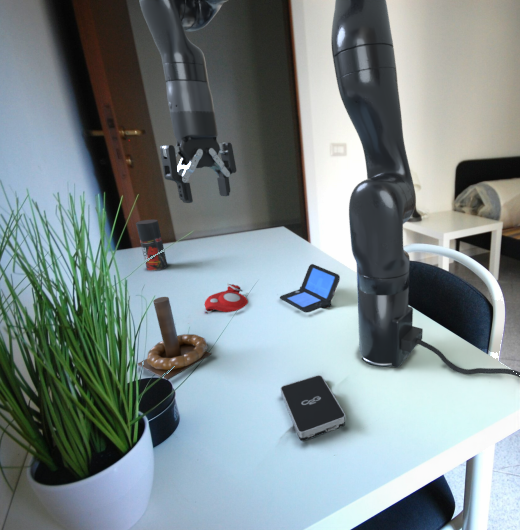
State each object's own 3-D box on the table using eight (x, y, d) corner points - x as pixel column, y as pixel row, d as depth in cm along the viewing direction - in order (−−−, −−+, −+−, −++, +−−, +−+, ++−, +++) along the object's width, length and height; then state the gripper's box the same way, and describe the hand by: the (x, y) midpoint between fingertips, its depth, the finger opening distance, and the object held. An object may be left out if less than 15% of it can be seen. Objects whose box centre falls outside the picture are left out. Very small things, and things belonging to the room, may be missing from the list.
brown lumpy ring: (218, 350, 70) (217, 341, 70) (167, 378, 63) (165, 368, 62) (188, 336, 76) (186, 327, 75) (138, 360, 68) (135, 351, 67)
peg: (212, 358, 70) (200, 295, 66) (167, 385, 63) (150, 316, 58) (183, 345, 74) (170, 285, 70) (138, 369, 67) (120, 304, 63)
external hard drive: (300, 445, 50) (299, 433, 50) (280, 396, 60) (279, 386, 59) (347, 427, 53) (346, 416, 52) (321, 383, 62) (320, 373, 62)
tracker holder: (254, 305, 89) (210, 307, 83) (251, 320, 90) (207, 323, 84) (241, 279, 97) (200, 278, 91) (238, 293, 99) (198, 293, 93)
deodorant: (171, 264, 121) (161, 219, 116) (160, 270, 116) (149, 224, 111) (154, 263, 122) (144, 219, 117) (142, 270, 116) (131, 224, 111)
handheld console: (278, 300, 93) (274, 273, 91) (312, 288, 100) (311, 262, 98) (306, 317, 85) (304, 287, 82) (342, 302, 92) (341, 274, 89)
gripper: (168, 107, 60) (186, 207, 65) (237, 110, 71) (248, 194, 77) (141, 109, 63) (161, 203, 69) (211, 112, 75) (224, 192, 80)
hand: (207, 199), depth 73 cm, fingers open, 8 cm apart
